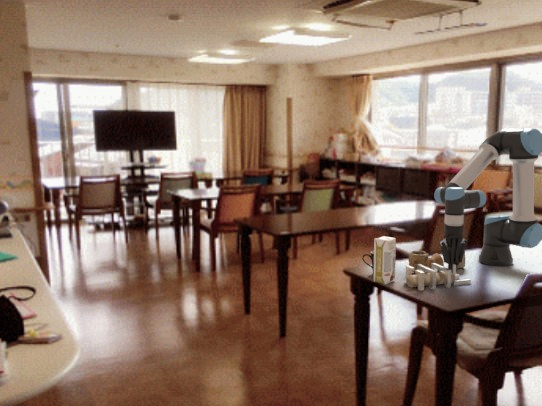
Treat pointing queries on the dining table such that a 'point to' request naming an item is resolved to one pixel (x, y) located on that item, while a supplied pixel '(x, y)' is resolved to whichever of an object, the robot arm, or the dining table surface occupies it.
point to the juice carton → (384, 259)
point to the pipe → (424, 259)
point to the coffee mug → (371, 259)
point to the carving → (462, 262)
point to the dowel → (428, 279)
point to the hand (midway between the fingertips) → (452, 279)
